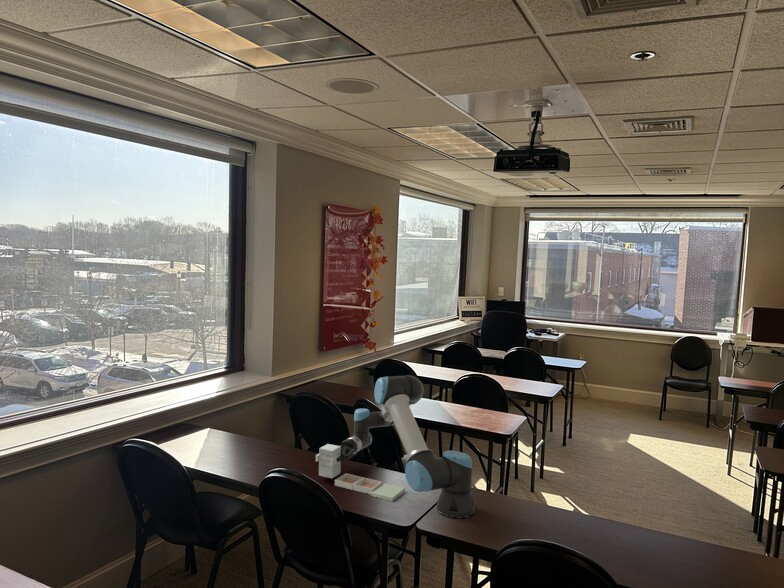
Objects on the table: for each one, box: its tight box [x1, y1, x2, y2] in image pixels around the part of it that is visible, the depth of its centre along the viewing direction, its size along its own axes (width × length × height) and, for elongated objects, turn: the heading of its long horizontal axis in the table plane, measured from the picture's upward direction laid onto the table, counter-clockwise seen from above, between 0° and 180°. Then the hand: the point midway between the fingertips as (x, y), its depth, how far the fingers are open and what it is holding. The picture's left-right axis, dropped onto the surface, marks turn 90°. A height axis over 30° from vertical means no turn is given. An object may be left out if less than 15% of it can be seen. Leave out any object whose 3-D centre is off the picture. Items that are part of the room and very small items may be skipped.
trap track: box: [334, 473, 406, 502], centre depth 240 cm, size 29×12×2 cm, turn 63°
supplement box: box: [318, 443, 342, 479], centre depth 249 cm, size 7×7×13 cm
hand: (323, 460), depth 245 cm, fingers closed on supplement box, 7 cm apart
